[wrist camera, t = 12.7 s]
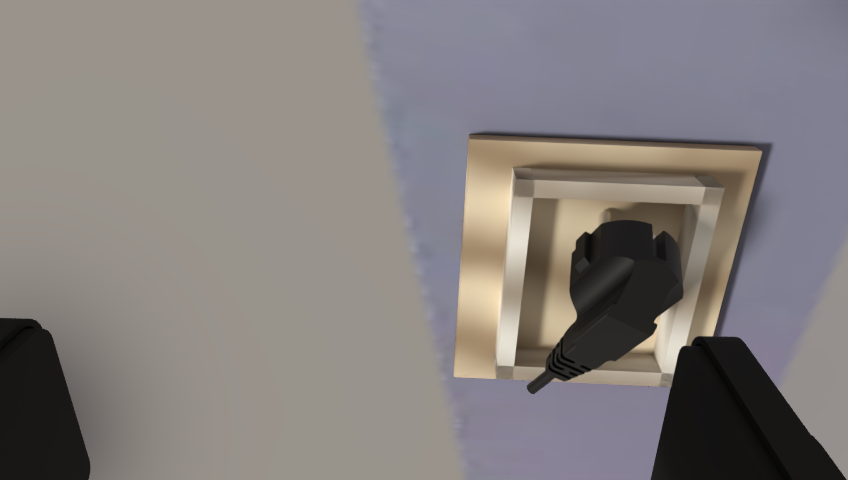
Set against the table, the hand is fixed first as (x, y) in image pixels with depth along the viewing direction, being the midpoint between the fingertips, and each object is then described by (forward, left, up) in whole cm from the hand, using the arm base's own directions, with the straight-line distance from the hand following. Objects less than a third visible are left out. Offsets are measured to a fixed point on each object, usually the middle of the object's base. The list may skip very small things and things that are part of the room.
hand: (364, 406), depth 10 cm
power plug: (+13, +10, -25) cm, 30 cm away
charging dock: (+11, +11, -27) cm, 31 cm away
